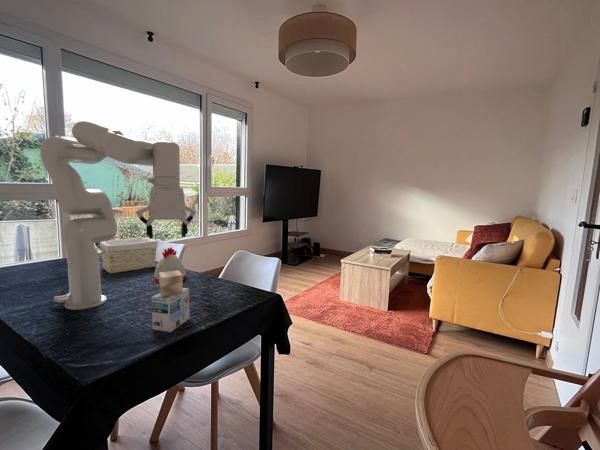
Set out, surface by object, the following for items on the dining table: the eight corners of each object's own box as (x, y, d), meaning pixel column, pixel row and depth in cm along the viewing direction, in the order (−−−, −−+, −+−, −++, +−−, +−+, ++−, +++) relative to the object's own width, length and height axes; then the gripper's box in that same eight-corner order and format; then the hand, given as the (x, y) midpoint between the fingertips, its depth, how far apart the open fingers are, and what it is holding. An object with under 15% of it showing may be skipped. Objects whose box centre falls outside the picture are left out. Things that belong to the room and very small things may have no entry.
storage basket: (148, 261, 173) (147, 236, 171) (159, 267, 162) (158, 240, 160) (99, 268, 156) (98, 240, 154) (108, 275, 145) (106, 245, 143)
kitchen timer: (147, 280, 140) (146, 248, 138) (169, 272, 152) (169, 243, 150) (170, 284, 135) (170, 252, 133) (192, 276, 147) (191, 246, 146)
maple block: (162, 296, 92) (161, 277, 91) (159, 290, 97) (158, 272, 96) (182, 293, 95) (182, 275, 95) (179, 287, 100) (178, 270, 100)
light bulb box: (170, 332, 92) (169, 299, 90) (151, 330, 93) (150, 296, 92) (190, 318, 102) (189, 287, 101) (172, 315, 103) (172, 285, 102)
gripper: (135, 181, 85) (137, 241, 87) (198, 184, 94) (198, 237, 97) (134, 181, 91) (135, 236, 94) (192, 183, 101) (193, 233, 103)
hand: (167, 237), depth 95 cm, fingers open, 9 cm apart
